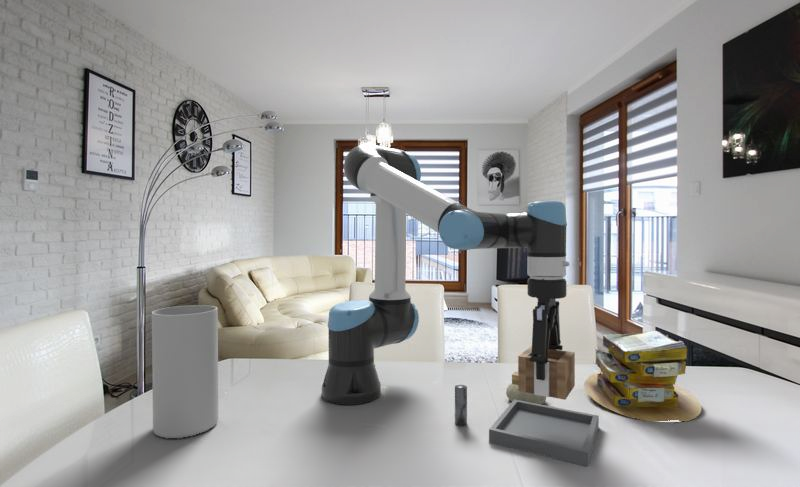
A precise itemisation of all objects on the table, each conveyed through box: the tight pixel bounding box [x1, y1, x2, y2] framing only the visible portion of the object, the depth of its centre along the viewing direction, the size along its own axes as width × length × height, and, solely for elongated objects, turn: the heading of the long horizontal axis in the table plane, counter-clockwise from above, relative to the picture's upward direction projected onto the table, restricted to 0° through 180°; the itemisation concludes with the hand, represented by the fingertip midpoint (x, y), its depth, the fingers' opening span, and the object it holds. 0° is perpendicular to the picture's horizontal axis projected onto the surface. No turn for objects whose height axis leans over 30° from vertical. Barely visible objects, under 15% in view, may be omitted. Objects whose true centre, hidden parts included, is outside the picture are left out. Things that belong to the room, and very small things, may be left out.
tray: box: [488, 399, 600, 467], centre depth 88 cm, size 18×18×2 cm
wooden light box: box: [511, 346, 576, 401], centre depth 88 cm, size 9×11×7 cm
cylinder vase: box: [151, 304, 219, 439], centre depth 91 cm, size 12×12×25 cm
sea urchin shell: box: [505, 383, 547, 405], centre depth 106 cm, size 9×8×8 cm
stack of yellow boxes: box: [583, 330, 702, 422], centre depth 106 cm, size 25×25×17 cm
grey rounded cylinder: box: [454, 384, 468, 427], centre depth 93 cm, size 3×3×8 cm
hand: (546, 387), depth 88 cm, fingers closed on wooden light box, 9 cm apart
